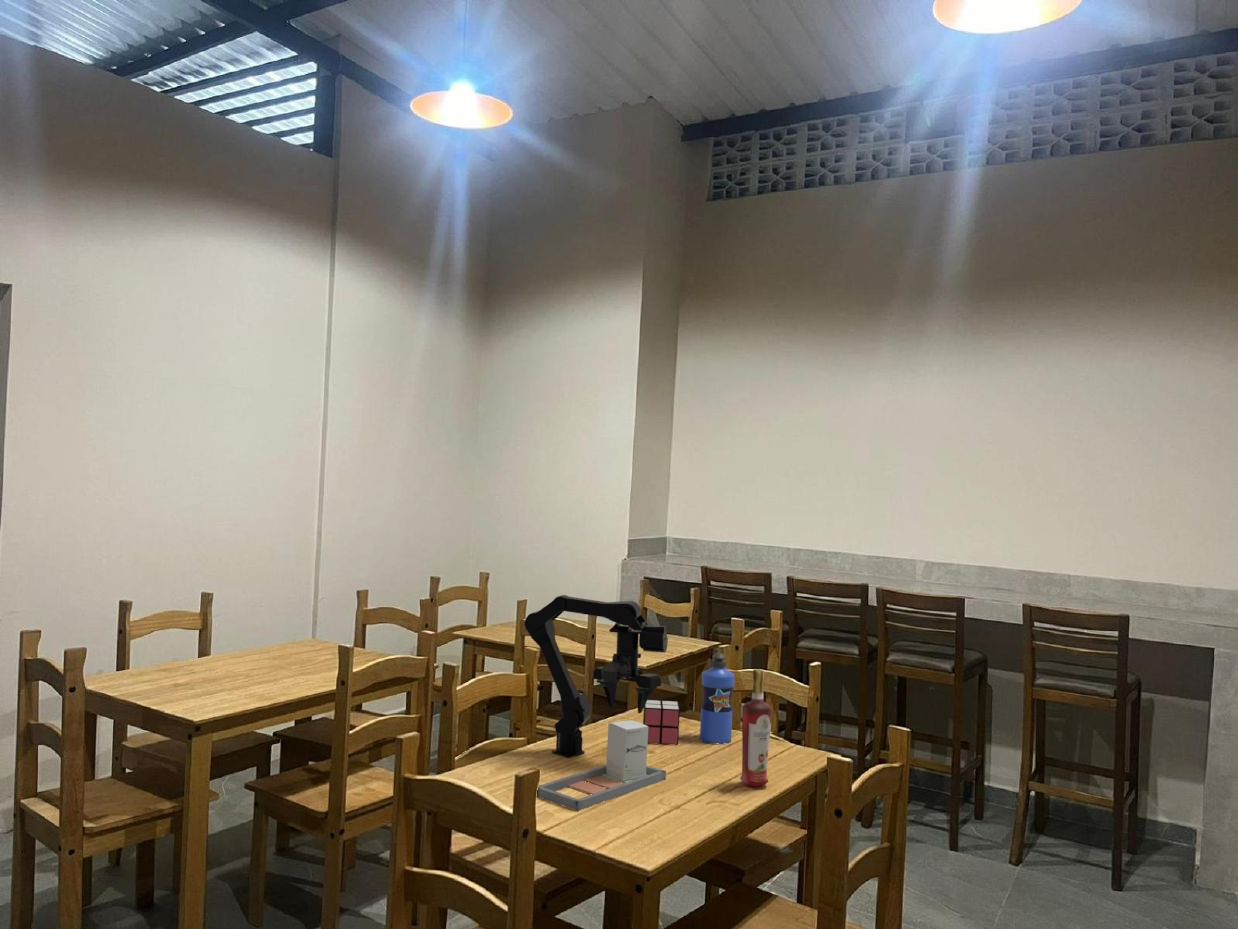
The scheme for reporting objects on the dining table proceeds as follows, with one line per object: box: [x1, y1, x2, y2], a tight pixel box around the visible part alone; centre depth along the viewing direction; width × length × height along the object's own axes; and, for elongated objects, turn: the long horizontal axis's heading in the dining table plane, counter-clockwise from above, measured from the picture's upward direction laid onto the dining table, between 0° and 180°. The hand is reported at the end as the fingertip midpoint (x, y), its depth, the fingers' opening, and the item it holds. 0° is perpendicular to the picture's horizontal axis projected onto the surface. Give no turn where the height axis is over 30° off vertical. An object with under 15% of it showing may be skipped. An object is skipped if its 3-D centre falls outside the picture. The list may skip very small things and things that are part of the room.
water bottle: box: [699, 651, 735, 745], centre depth 260 cm, size 9×9×25 cm
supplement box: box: [605, 719, 649, 781], centre depth 221 cm, size 7×7×13 cm
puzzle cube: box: [642, 699, 681, 746], centre depth 257 cm, size 10×10×10 cm
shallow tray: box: [536, 764, 667, 811], centre depth 213 cm, size 13×32×2 cm, turn 140°
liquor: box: [739, 668, 773, 789], centre depth 220 cm, size 7×7×28 cm
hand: (625, 710), depth 235 cm, fingers open, 9 cm apart
